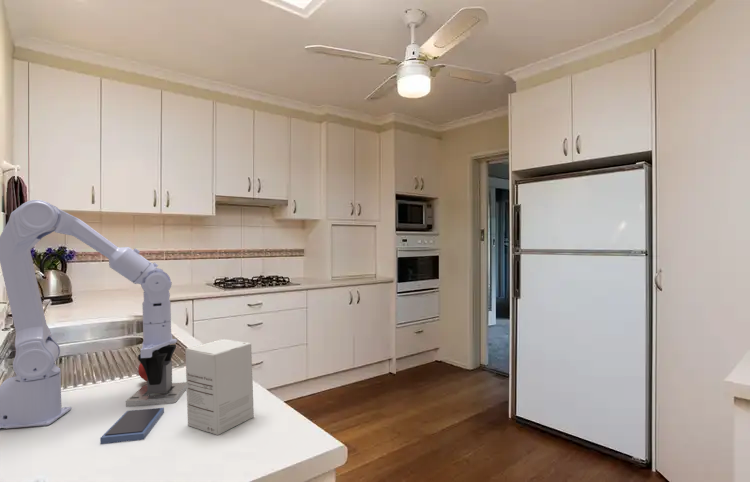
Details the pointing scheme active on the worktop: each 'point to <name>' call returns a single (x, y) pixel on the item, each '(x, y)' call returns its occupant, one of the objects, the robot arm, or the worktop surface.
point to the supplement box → (219, 385)
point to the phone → (132, 426)
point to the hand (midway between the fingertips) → (158, 380)
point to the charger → (162, 380)
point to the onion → (142, 372)
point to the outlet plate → (157, 396)
